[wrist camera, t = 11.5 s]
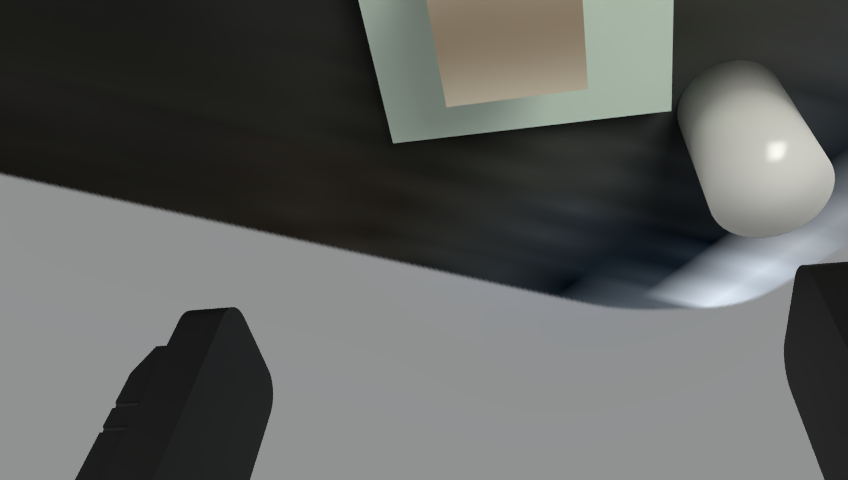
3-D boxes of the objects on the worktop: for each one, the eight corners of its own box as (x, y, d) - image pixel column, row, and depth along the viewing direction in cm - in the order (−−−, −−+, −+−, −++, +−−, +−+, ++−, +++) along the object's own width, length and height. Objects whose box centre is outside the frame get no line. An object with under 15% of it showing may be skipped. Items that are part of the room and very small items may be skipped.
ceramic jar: (678, 67, 29) (711, 147, 24) (787, 53, 28) (843, 133, 23) (675, 154, 31) (705, 242, 26) (776, 143, 30) (825, 232, 26)
